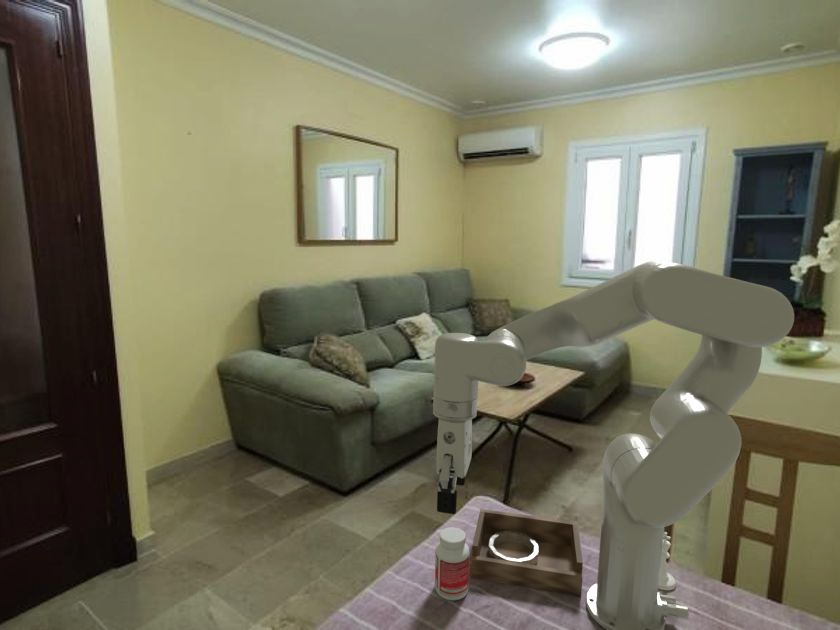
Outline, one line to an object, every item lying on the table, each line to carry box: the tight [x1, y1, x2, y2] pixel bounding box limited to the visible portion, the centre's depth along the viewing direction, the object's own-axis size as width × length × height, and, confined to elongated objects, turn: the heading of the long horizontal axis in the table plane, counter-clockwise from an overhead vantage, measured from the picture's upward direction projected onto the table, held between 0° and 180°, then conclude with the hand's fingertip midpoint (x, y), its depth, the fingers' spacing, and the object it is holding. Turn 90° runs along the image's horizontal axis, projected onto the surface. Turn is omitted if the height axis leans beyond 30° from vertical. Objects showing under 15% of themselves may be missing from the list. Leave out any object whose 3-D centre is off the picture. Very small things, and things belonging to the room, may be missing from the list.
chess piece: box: [658, 531, 676, 591], centre depth 91 cm, size 5×5×10 cm
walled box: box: [470, 508, 584, 598], centre depth 96 cm, size 20×14×6 cm
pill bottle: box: [434, 526, 470, 601], centre depth 88 cm, size 6×6×11 cm
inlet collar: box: [489, 531, 538, 565], centre depth 97 cm, size 10×10×2 cm
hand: (451, 497), depth 86 cm, fingers open, 9 cm apart
